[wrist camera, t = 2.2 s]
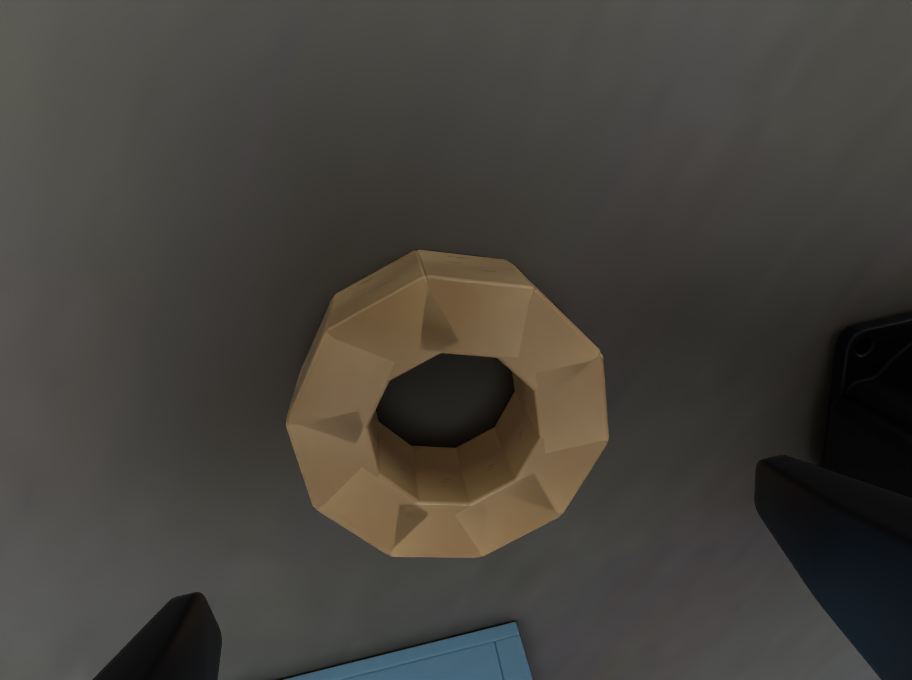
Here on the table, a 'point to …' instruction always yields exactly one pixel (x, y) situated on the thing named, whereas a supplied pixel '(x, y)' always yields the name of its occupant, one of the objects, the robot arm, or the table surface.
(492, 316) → the wooden ring
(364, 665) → the tray
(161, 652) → the robot arm
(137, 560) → the table surface
